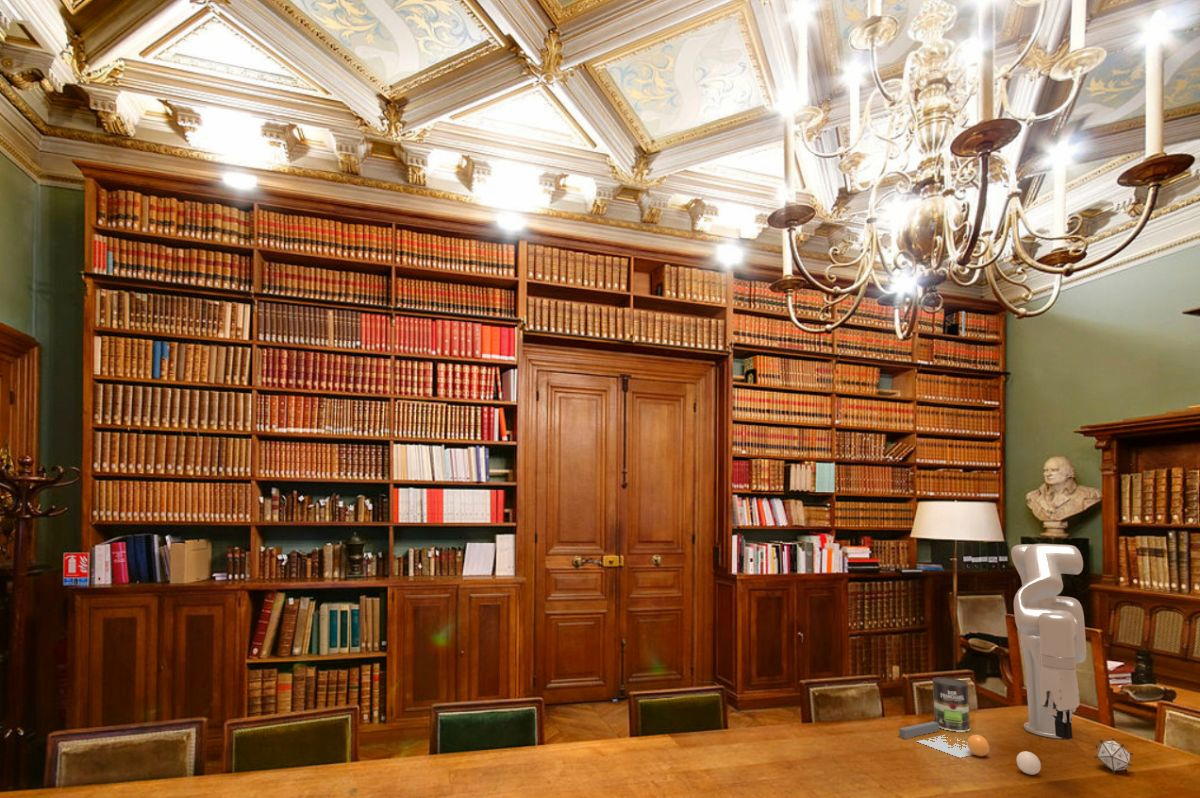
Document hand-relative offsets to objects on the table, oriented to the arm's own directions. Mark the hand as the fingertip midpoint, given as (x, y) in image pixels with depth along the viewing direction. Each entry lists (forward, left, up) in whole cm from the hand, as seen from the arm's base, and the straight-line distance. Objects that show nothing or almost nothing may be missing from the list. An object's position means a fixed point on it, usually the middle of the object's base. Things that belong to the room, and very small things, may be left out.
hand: (1064, 737), depth 172 cm
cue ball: (0, -10, -10) cm, 14 cm away
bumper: (0, -43, -12) cm, 44 cm away
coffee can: (-16, -43, -13) cm, 47 cm away
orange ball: (0, -24, -10) cm, 26 cm away
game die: (-24, -1, -13) cm, 27 cm away
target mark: (0, -32, -12) cm, 34 cm away
